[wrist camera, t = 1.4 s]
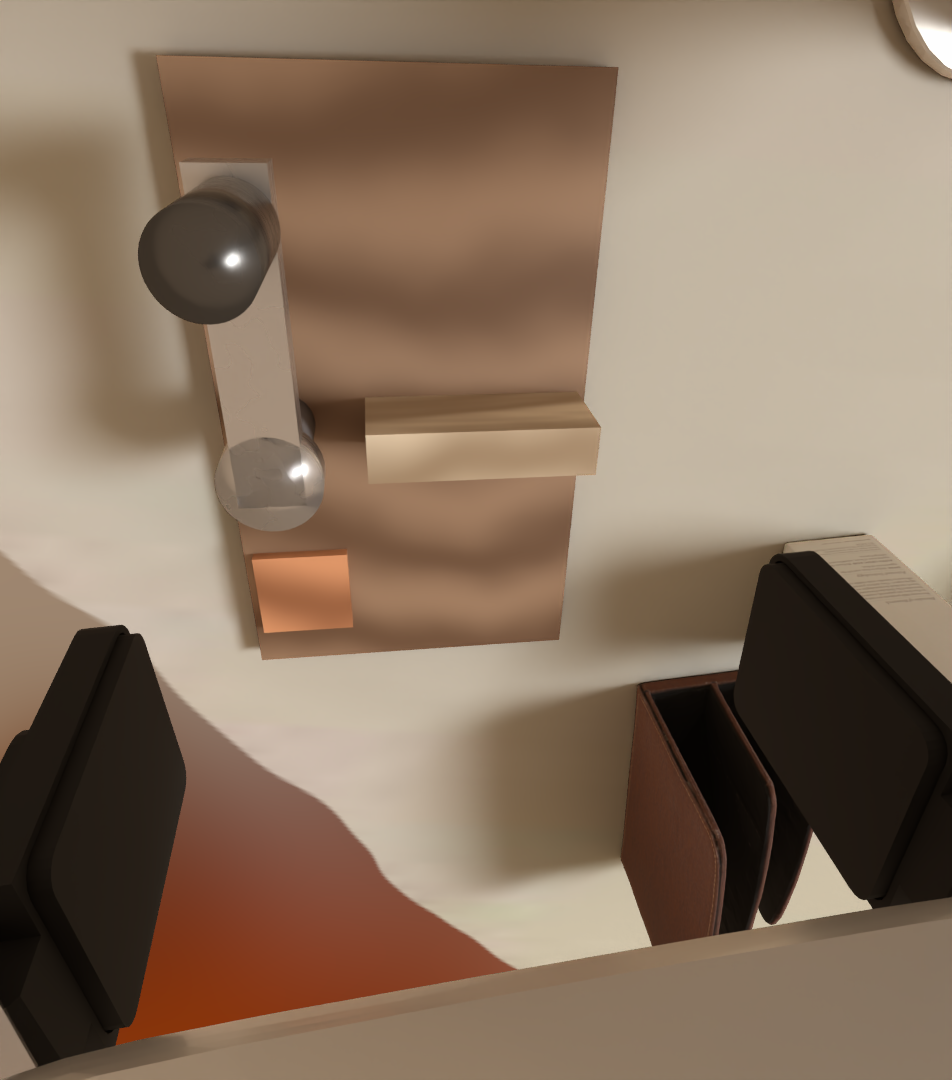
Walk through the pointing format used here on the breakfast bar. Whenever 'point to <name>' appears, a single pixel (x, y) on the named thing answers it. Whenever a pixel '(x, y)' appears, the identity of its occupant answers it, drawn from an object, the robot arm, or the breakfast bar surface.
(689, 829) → the letter holder
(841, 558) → the skincare box
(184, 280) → the crank handle
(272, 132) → the jamb plate
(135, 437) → the breakfast bar surface
